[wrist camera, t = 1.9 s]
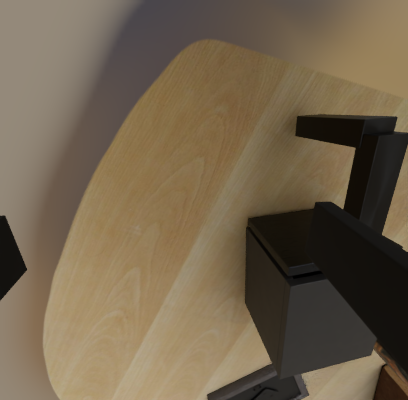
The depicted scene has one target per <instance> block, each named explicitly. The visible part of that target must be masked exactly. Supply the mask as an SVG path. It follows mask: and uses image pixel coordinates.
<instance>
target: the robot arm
mask: <svg viewBox="0 0 408 400" xmlns="http://www.w3.org/2000/svg"><path fill="white" fill-rule="evenodd" d="M304 252H305V253H306V254H307V255H308V257H309V258H310V259H311V260H312V261H313V263H314V264H315V265H316V266H317V267H318V269H319V270H320V271H321V272H322V273H323V275H324V276H325V277H326V278H327V279H328V281H329V282H330V283H331V284H332V285H333V286H334V288H335V289H336V290H337V291H338V292H339V294H340V295H341V296H342V297H343V298H344V300H345V301H346V302H347V303H348V304H349V306H350V307H351V308H352V309H353V310H354V312H355V313H356V314H357V315H358V316H359V317H360V319H361V320H362V321H363V322H364V323H365V325H366V326H367V327H368V328H369V329H370V331H371V332H372V333H373V334H374V335H375V337H376V338H377V339H378V340H379V341H380V343H381V344H382V345H383V346H384V347H385V349H386V350H387V351H388V352H389V353H390V354H391V356H392V357H393V358H394V359H395V360H396V362H397V363H398V364H399V365H400V366H401V368H402V369H403V370H404V371H405V372H406V374H407V375H408V252H406V251H405V250H403V249H402V248H400V247H399V246H397V245H396V244H394V243H393V242H391V241H390V240H388V239H387V238H385V237H384V236H382V235H381V234H379V233H378V232H376V231H375V230H373V229H372V228H370V227H369V226H367V225H366V224H364V223H363V222H361V221H359V220H358V219H356V218H355V217H353V216H352V215H350V214H349V213H347V212H346V211H344V210H343V209H341V208H340V207H338V206H337V205H335V204H334V203H332V202H315V207H314V211H313V215H312V219H311V224H310V228H309V232H308V236H307V241H306V245H305V249H304ZM25 271H27V268H26V266H25V263H24V261H23V258H22V256H21V253H20V251H19V248H18V246H17V244H16V241H15V239H14V236H13V234H12V231H11V229H10V226H9V224H8V221H7V219H6V217H5V216H0V300H1V299H2V298H3V297H4V296H5V295H6V293H7V292H8V291H9V290H10V289H11V288H12V286H13V285H14V284H15V283H16V282H17V281H18V280H19V279H20V277H21V276H22V275H23V274H24V273H25Z"/></svg>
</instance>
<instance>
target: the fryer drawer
mask: <svg viewBox="0 0 408 400" xmlns="http://www.w3.org/2000/svg"><path fill="white" fill-rule="evenodd" d="M396 121H397V117H392V116H359V115H326V114H318V115H305V116H297V123H296V134H295V136H298V137H303V138H308V139H313V140H319V141H324V142H329V143H334V144H339V145H344V146H350V147H355V148H356V150H355V155H354V160H353V165H352V169H351V174H350V179H349V184H348V189H347V194H346V199H345V204H344V209H343V210H344V211H346V212H347V213H349V214H350V215H352V216H353V217H355V218H356V219H358V220H359V221H361V222H363V223H364V224H366V225H367V226H369V227H370V228H372V229H373V230H375V231H376V232H378V233H379V234H381V235H382V232H383V228H384V225H385V221H386V218H387V214H388V211H389V207H390V204H391V201H392V197H393V194H394V190H395V187H396V183H397V180H398V176H399V173H400V169H401V166H402V162H403V159H404V155H405V152H406V149H407V145H408V133H404V132H394V129H395V125H396ZM313 211H314V209H310V210H303V211H296V212H289V213H282V214H275V215H269V216H262V217H255V218H248V225H249V227H250V228H251V229H252V231H253V232H254V233H255V234H256V236H257V237H258V238H259V240H260V241H261V242H262V243H263V245H264V246H265V247H266V249H267V250H268V251H269V252H270V254H271V255H272V256H273V258H274V259H275V260H276V261H277V263H278V264H279V265H280V267H281V268H282V269H283V270H284V272H285V273H286V274H287V276H292V277H293V278H294V279H296V278H301V277H306V276H312V275H317V274H322V272H321V271H320V270H319V269H318V267H317V266H316V265H315V264H314V263H313V261H312V260H311V259H310V258H309V257H308V255H307V254H306V253H305V252H304V249H305V245H306V241H307V236H308V232H309V228H310V224H311V219H312V215H313ZM382 236H383V235H382ZM384 237H385V236H384ZM385 238H386V237H385ZM387 239H388V238H387ZM388 240H390V239H388ZM390 241H391V242H393V241H392V240H390ZM393 243H394V244H396V245H397V246H399V247H400V248H403V247H402V246H401V245H399V244H397V243H395V242H393Z"/></svg>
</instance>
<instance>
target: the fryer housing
mask: <svg viewBox="0 0 408 400" xmlns="http://www.w3.org/2000/svg"><path fill="white" fill-rule="evenodd" d="M245 303H246V306H247V308H248V310H249V312H250V315H251V317H252V319H253V321H254V324H255V326H256V328H257V330H258V332H259V335H260V337H261V339H262V341H263V344H264V346H265V348H266V350H267V353H268V355H269V357H270V359H271V361H272V364H273V366H274V368H275V370H276V372H277V375H278V377H279V379H283V378H287V377H290V376H294V375H298V374H302V373H306V372H309V371H313V370H317V369H321V368H324V367H328V366H332V365H336V364H340V363H343V362H347V361H351V360H355V359H358V358H362V357H366V356H370V355H371V354H372V351H373V348H374V345H375V342H376V339H377V338H376V337H375V335H374V334H373V333H372V332H371V331H370V329H369V328H368V327H367V326H366V325H365V323H364V322H363V321H362V320H361V319H360V317H359V316H358V315H357V314H356V313H355V312H354V310H353V309H352V308H351V307H350V306H349V304H348V303H347V302H346V301H345V300H344V298H343V297H342V296H341V295H340V294H339V292H338V291H337V290H336V289H335V288H334V286H333V285H332V284H331V283H330V282H329V281H328V279H327V278H326V277H325V276H324V275H323V273H322V274H317V275H312V276H306V277H301V278H296V279H294V278H293V277H292V276H287V274H286V273H285V272H284V270H283V269H282V268H281V267H280V265H279V264H278V263H277V261H276V260H275V259H274V258H273V256H272V255H271V254H270V252H269V251H268V250H267V249H266V247H265V246H264V245H263V243H262V242H261V241H260V240H259V238H258V237H257V236H256V234H255V233H254V232H253V231H252V229H251V228H250V227H247V228H246V279H245Z"/></svg>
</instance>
